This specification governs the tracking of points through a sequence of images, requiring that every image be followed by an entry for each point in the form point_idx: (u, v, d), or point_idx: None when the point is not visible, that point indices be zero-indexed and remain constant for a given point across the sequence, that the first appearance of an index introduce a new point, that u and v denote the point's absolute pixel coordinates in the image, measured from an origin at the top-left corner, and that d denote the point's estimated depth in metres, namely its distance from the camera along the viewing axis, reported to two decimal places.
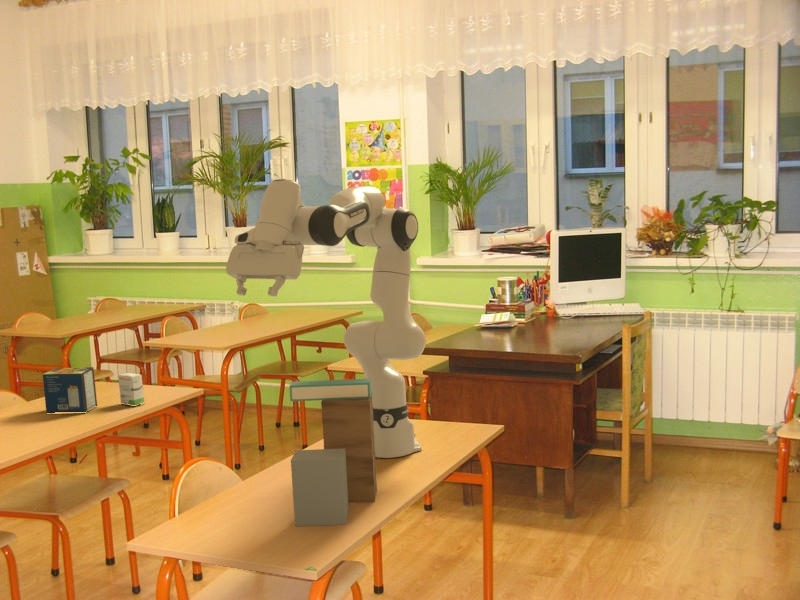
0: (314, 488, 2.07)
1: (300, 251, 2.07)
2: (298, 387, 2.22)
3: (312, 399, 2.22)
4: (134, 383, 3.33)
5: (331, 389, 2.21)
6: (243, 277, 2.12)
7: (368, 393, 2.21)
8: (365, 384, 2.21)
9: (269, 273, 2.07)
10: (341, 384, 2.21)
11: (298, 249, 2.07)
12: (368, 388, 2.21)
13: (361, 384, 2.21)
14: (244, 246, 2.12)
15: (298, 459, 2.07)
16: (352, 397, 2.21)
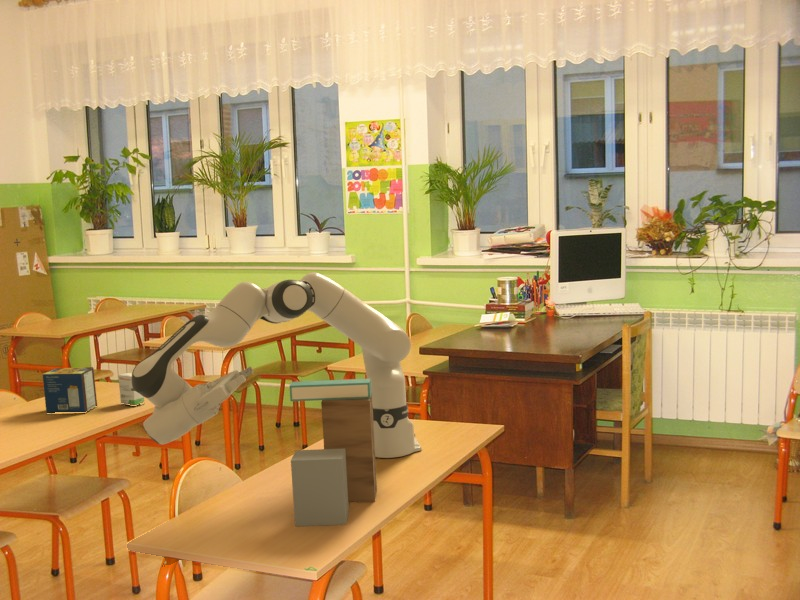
0: (314, 488, 2.07)
1: (202, 407, 2.12)
2: (298, 387, 2.22)
3: (312, 399, 2.22)
4: None
5: (331, 389, 2.21)
6: None
7: (368, 393, 2.21)
8: (365, 384, 2.21)
9: (232, 392, 2.18)
10: (341, 384, 2.21)
11: (201, 407, 2.13)
12: (368, 388, 2.21)
13: (361, 384, 2.21)
14: None
15: (298, 459, 2.07)
16: (352, 397, 2.21)
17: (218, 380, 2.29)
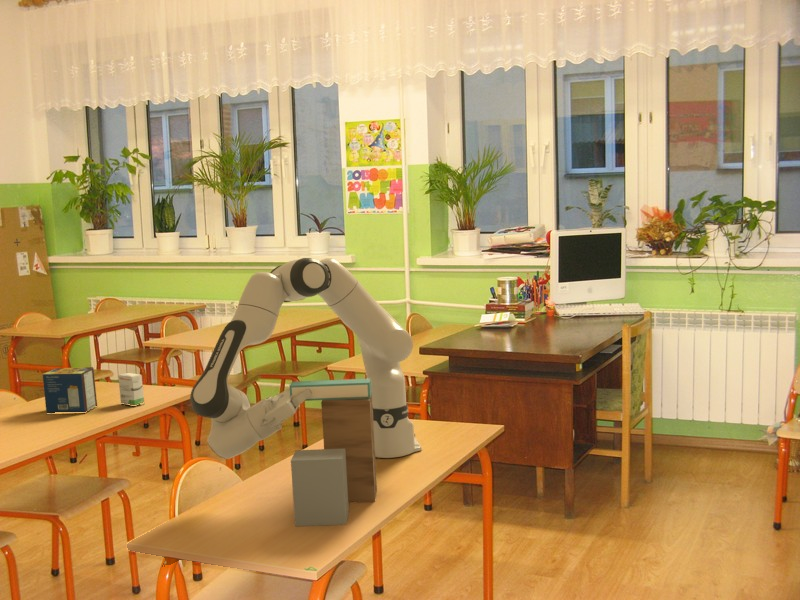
0: (314, 488, 2.07)
1: (269, 423, 2.15)
2: (298, 387, 2.22)
3: (312, 399, 2.22)
4: (134, 383, 3.33)
5: (331, 389, 2.21)
6: None
7: (368, 393, 2.21)
8: (365, 384, 2.21)
9: None
10: (341, 384, 2.21)
11: (268, 423, 2.16)
12: (368, 388, 2.21)
13: (361, 384, 2.21)
14: None
15: (298, 459, 2.07)
16: (352, 397, 2.21)
17: (280, 395, 2.32)
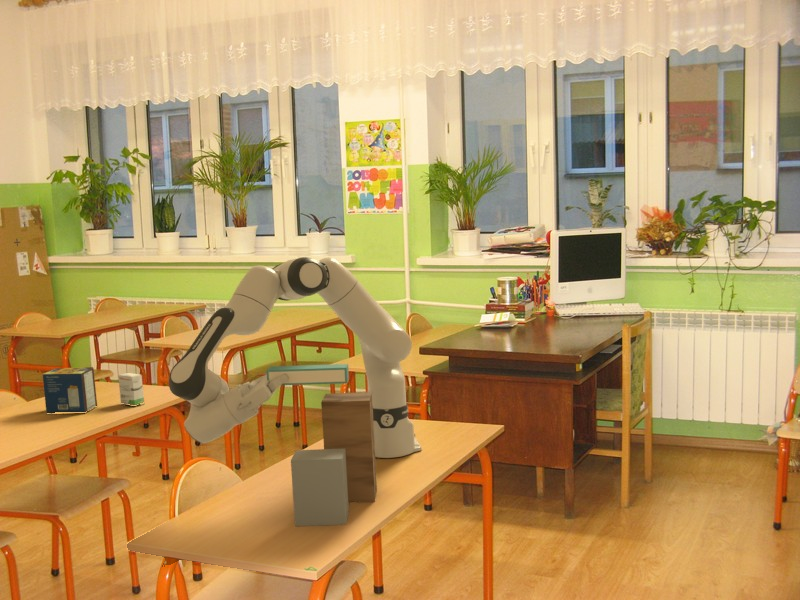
0: (314, 488, 2.07)
1: (245, 407, 2.14)
2: (275, 371, 2.21)
3: (289, 384, 2.21)
4: (134, 383, 3.33)
5: (308, 374, 2.21)
6: None
7: (345, 378, 2.21)
8: (342, 369, 2.20)
9: None
10: (318, 369, 2.21)
11: (244, 407, 2.15)
12: (345, 373, 2.21)
13: (338, 369, 2.20)
14: None
15: (298, 459, 2.07)
16: (329, 382, 2.21)
17: (257, 380, 2.32)
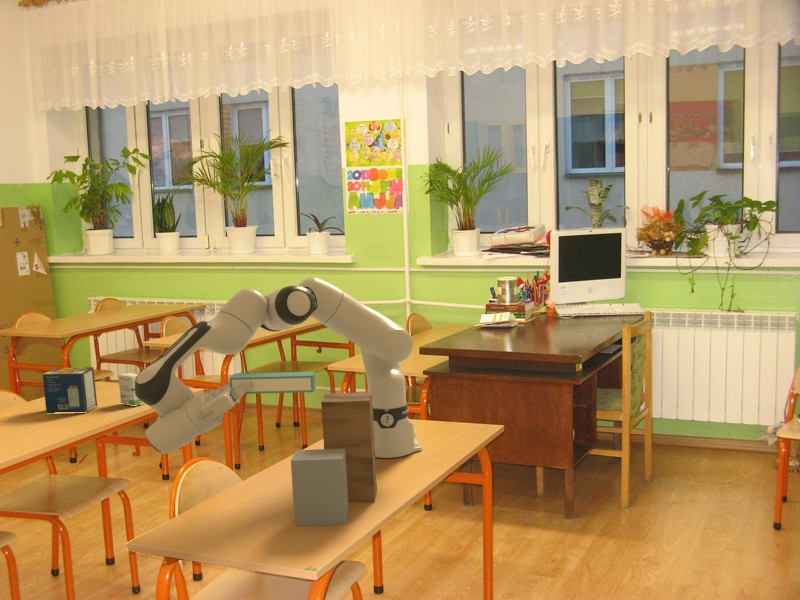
0: (314, 488, 2.07)
1: (206, 416, 2.06)
2: (239, 379, 2.13)
3: (253, 392, 2.13)
4: (134, 383, 3.33)
5: (273, 382, 2.12)
6: None
7: (311, 387, 2.12)
8: (308, 377, 2.12)
9: (237, 401, 2.12)
10: (283, 377, 2.12)
11: (205, 417, 2.07)
12: (311, 381, 2.12)
13: (304, 377, 2.12)
14: None
15: (298, 459, 2.07)
16: (295, 390, 2.13)
17: (222, 388, 2.23)
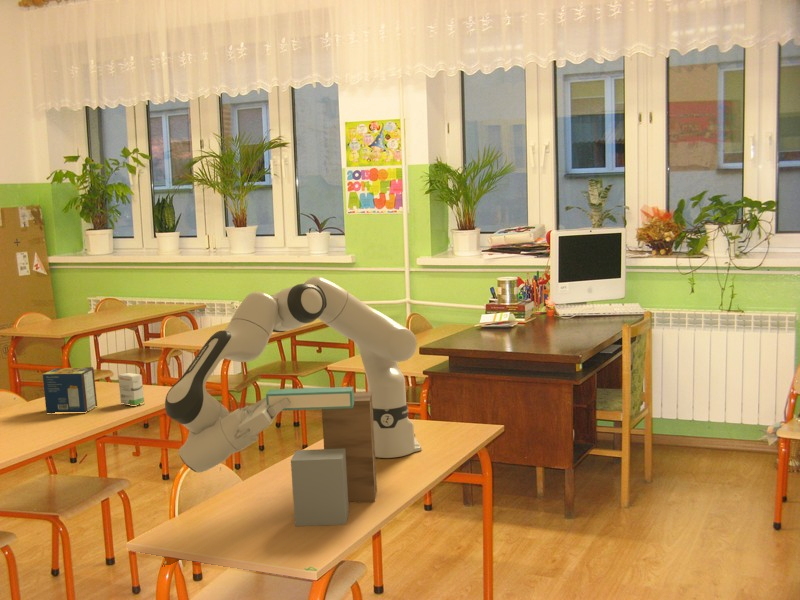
0: (314, 488, 2.07)
1: (243, 434, 2.00)
2: (275, 395, 2.07)
3: (290, 409, 2.07)
4: (134, 383, 3.33)
5: (310, 398, 2.06)
6: None
7: (350, 402, 2.06)
8: (347, 393, 2.06)
9: (274, 418, 2.06)
10: (321, 393, 2.06)
11: None
12: (350, 397, 2.06)
13: (343, 393, 2.06)
14: None
15: (298, 459, 2.07)
16: (333, 407, 2.06)
17: (257, 404, 2.17)
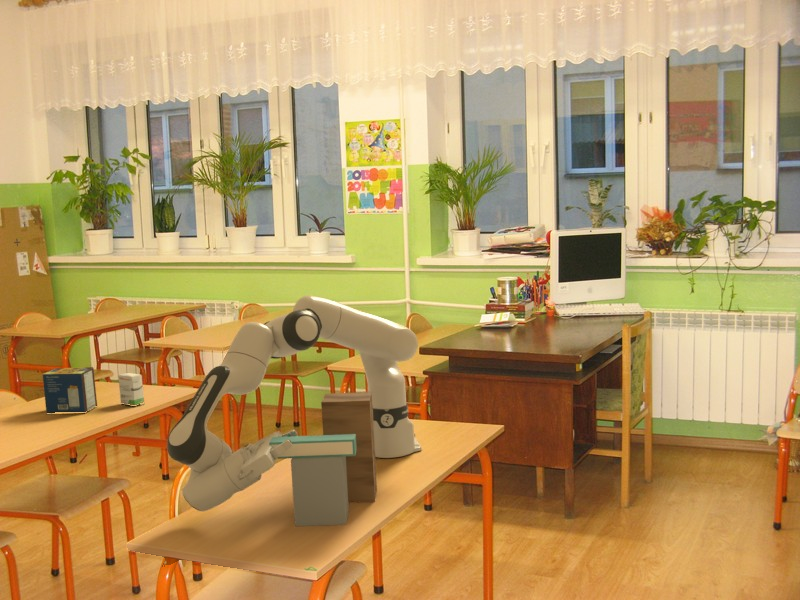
0: (314, 488, 2.07)
1: None
2: (278, 444, 2.08)
3: (293, 457, 2.08)
4: (134, 383, 3.33)
5: (313, 447, 2.08)
6: None
7: (353, 450, 2.08)
8: (350, 441, 2.07)
9: (277, 458, 2.07)
10: (324, 441, 2.08)
11: (246, 476, 2.02)
12: (353, 445, 2.08)
13: (345, 441, 2.08)
14: None
15: (298, 459, 2.07)
16: (336, 455, 2.08)
17: (260, 442, 2.18)
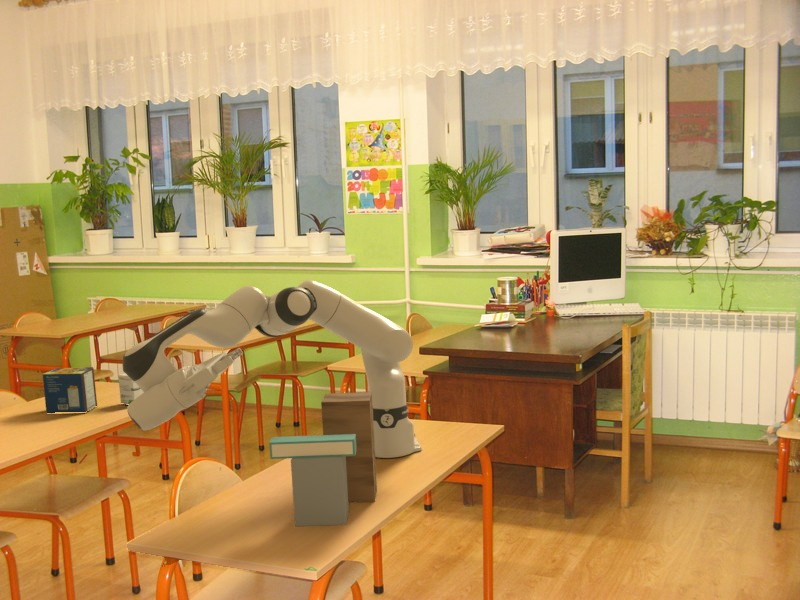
0: (314, 488, 2.07)
1: (188, 390, 2.01)
2: (278, 444, 2.08)
3: (293, 457, 2.08)
4: (134, 383, 3.33)
5: (313, 447, 2.08)
6: None
7: (353, 450, 2.08)
8: (350, 441, 2.07)
9: (220, 374, 2.07)
10: (324, 441, 2.08)
11: (187, 390, 2.02)
12: (353, 445, 2.08)
13: (345, 441, 2.08)
14: (209, 384, 2.16)
15: (298, 459, 2.07)
16: (336, 455, 2.08)
17: (205, 362, 2.18)
